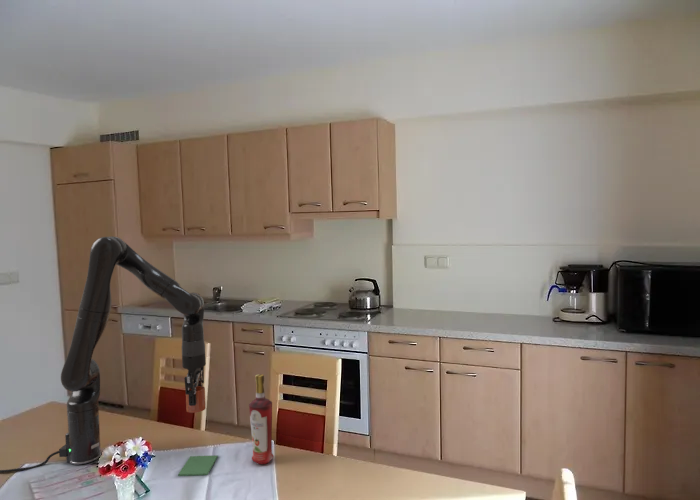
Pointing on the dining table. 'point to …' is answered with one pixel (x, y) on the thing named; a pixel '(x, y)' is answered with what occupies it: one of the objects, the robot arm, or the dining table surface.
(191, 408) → the flower pot
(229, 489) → the dining table surface
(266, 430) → the liquor
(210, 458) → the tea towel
